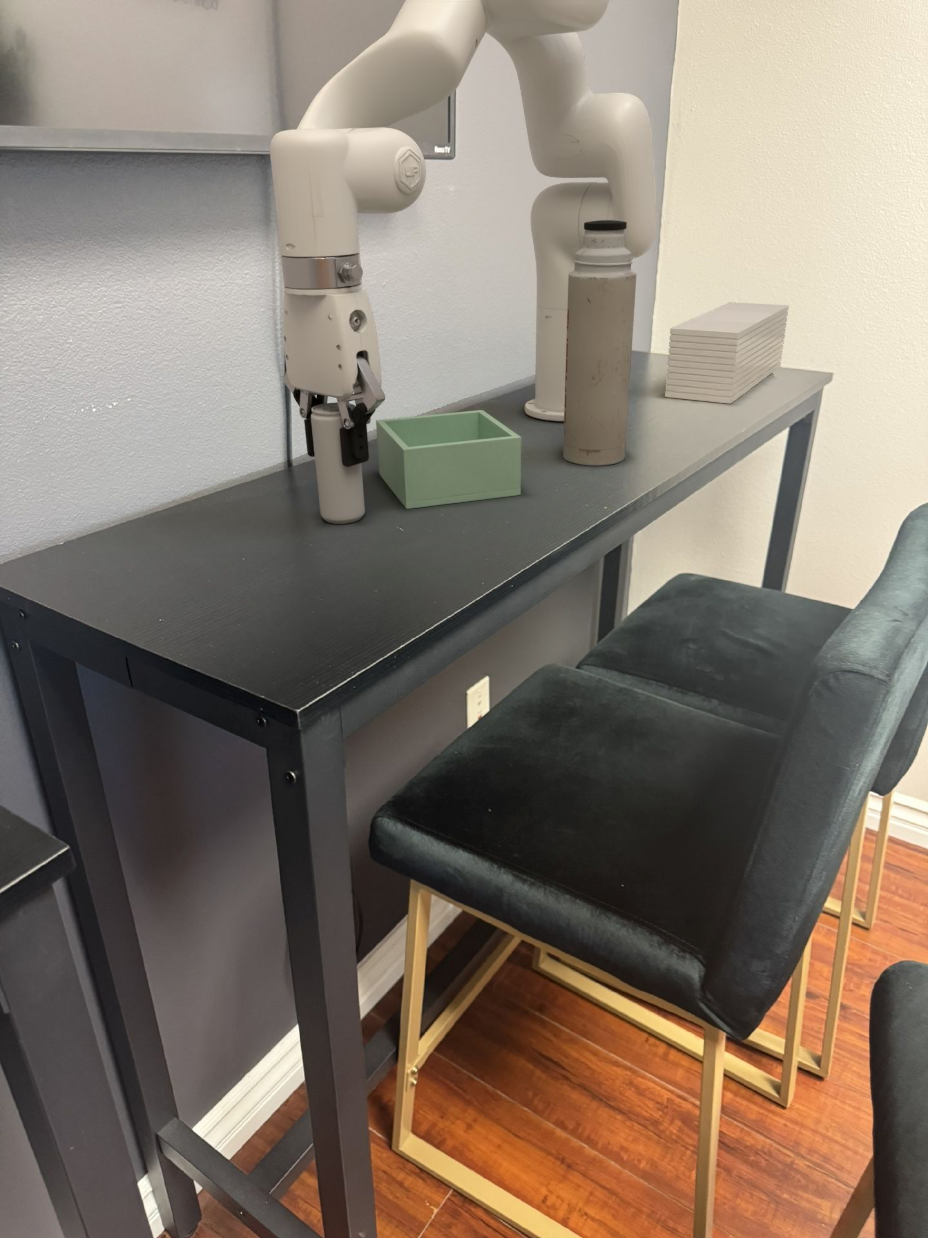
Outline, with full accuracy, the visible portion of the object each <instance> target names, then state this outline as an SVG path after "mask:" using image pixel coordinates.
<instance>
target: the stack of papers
mask: <svg viewBox="0 0 928 1238" xmlns="http://www.w3.org/2000/svg"><path fill="white" fill-rule="evenodd" d="M789 308H790V305H789V304H773V303H772V304H770V303H752V302H751V303H750V302H731V301H730V302H727V303H724V304H722V305H720V306H717V307H715V308H713V309H711V310H709V311H706V312H705V313H702V314H699V315H697V316H695V317H693V318H690V319H689V320H685V321H684V322H682V323H679V324H677V325H675V326H672V327H670V329H669V334H670V335H669V343H668V347H669V348H668V354H667V366H666V379H665V392H664V397H665V398H671V399H672V398H673V399H680V400H681V399H682V400H689V401H690V400H691V401H701V402H710V403H711V402H712V403H720V404H721V403H722V404H732V403H734V402H735V401H736V400H738V399H739V398H741V396H743V395H744V394H746V393H747V392H748V391H750V390H752V389H753V388H754V387H755V386H757V385H758V384H760V383H761V382H762V381H763V380H765V379H766V378H767V377H769V376H770V375H772V374H773V373H774V372H775V371H777V370H778V369H779V368H781V366H782V359H783V352H784V344H785V337H786V330H787V329H786V328H787V322H788V315H789V312H788V311H789Z"/></svg>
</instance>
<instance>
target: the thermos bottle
mask: <svg viewBox="0 0 928 1238" xmlns="http://www.w3.org/2000/svg"><path fill="white" fill-rule="evenodd" d="M626 227H627V222H623V221H615V220H599V221H591V222H585V223H584V229H585V234H584V235H583V247H582V248H581V249H580V250H579V251H577V252H576V253H575V260H574V263H575V269H574V271H572V272H570V273H569V275H568V306H567V339H566V372H565V405H564V421H563V437H562V438H563V440H562V441H563V444H562V458H563V459H564V460H565V461H567V462H568V463H569V462H570V463H573V464H576V465H581V466H595V467H596V466H598V467H599V466H600V467H601V466H610V465H615V464H618V463H621V462H623V461H624V460H625V458H626V449H627V434H628V433H627V432H628V418H629V416H628V415H629V391H630V381H631V379H630V378H631V369H632V368H631V367H632V354H633V353H632V352H633V337H634V336H633V335H634V323H635V322H634V320H635V319H634V318H635V304H636V303H635V302H636V287H637V272H636V271H634V270H632V264H633V259H634V258H632V253H631V252H630V251H629V250H628V249H626V248H625V234H624V229H626Z"/></svg>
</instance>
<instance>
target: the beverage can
mask: <svg viewBox="0 0 928 1238" xmlns="http://www.w3.org/2000/svg"><path fill="white" fill-rule="evenodd" d="M355 406H356V404H353V403H350V407H351V411H353V409H354V408H355ZM312 412H313V413H312V414H311V423H312V434H313V444H314V454H315V457H314V463H315V464H314V465H315V473H316V481H317V492H318V499H319V500H318V501H319V512H320V516H321V517H322V519H323V520H324V521H325V522H327V523H329V524H333V525H334V524H335V525H346V524H352V523H356V522H358V521H359V520H361V519H362V518H363V517H364V515H365V513H366V510H365V509H366V507H365V495H364V482H363V481H364V480H363V468H362V463H360V464H357V465H353V466H350V467H346V466H344V465H343V463H342V455H341V444H340V428H343V427H344V425H343V422H342V418H341V414H340V410H339V406H338V402H337V401H336V402H327V403H325V404H320V405H316V406H314V407H312Z"/></svg>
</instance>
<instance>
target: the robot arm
mask: <svg viewBox="0 0 928 1238" xmlns="http://www.w3.org/2000/svg"><path fill="white" fill-rule="evenodd" d="M609 3H610V0H404V2H403V4H402V6H401V8H400V9H399V12H398V13H397V15H396V17H395V19H394V21H393V22H392V25H391V26H390V28H389V29H388V31H387V32H386V33H385V34H384V35H382V37H380V38H379V39H377V40H376V41H374V42H373V43H372V44H370V45H369V46H368V47H367V48H366V49H364V50H363V51H362V52H361V53H360V54H359V55H357V56H356V57H354V59H353V60H351V61H350V62H349V63H348V64H347V65H345V66H344V67H343V68H342V69H340V71H338V72H337V73H335V74H334V75H333V76H332V77H331V78H330V79H329V80H328V81H327V82H326V83H325V84H324V85H323V86H322V87H321V88H320V90H319V91H318V92H317V93H316V95H315V96H314V98H313V99H312V101H311V102H310V104H309V106H308V108H307V109H306V111H305V112H304V114H303V116H302V118H301V120H300V122H299V124H298V126H297V128H295V129H286V130H281V131H279V132H276V133H275V134H274V135H273V137H272V138H271V140H270V143H269V153H270V154H269V157H270V159H269V160H270V166H271V176H272V185H273V186H272V187H273V194H274V204H275V215H276V221H277V222H276V223H277V232H278V242H279V252H280V253H279V254H280V262H281V263H280V264H281V272H282V282H283V302H282V303H283V305H282V330H283V332H282V333H283V347H284V348H283V349H284V350H283V351H284V360H285V366H286V367H285V368H286V371H285V374H284V375H283V383H284V385H285V386H286V387H287V388H288V390H289V391H290V393H291V394H292V396H293V399H294V401H295V402H296V403H297V405H298V406H299V409H298V413H299V416H300V417H301V418H302V419H303V422H304V433H305V443H306V453H307V456H308V457H312V458H315V454H314V444H313V434H312V423H311V414H312V413H313V412H312V407H314V406H316V405H320V404H325V403H328V402H329V401H328V399H329V398H334V399H336V402H338V406H339V410H340V414H341V418H342V422H343V425H344V427H343V428H340V444H341V455H342V463H343V465H344V466H346V467H350V466H353V465H357V464H360V463H361V464H363V463H367V462H368V461H369V459H370V452H369V438H368V437H369V436H368V425H369V424H371V421H372V416H373V415H374V414H375V412H376V411H377V409H378V408H380V406H381V405H382V404H383V402H385V400H386V395H385V392H384V390H383V389H382V367H381V357H380V356H381V355H380V348H379V347H380V346H379V340H378V339H379V338H378V333H377V327H376V326H377V325H376V321H375V316H374V312H373V308H372V303H371V299H370V295H369V293H368V290H366V289H363V280H362V279H363V278H362V277H363V275H364V271H363V268H362V263H361V253H360V251H361V249H360V247H361V246H360V233H359V232H360V231H359V219H358V214H365V215H366V214H368V215H369V214H371V215H372V214H373V215H374V214H375V215H381V214H382V215H383V214H385V215H386V214H394V213H399V212H403V210H406V209H408V208H409V207H410V206H411V205H413V204H414V203H415V202H416V201H417V200H418V198H419V197H420V196H421V194H422V192H423V189H424V187H425V183H426V177H427V167H426V166H427V165H426V162H425V158H424V157H425V156H424V155H423V151H422V150H421V148H420V146H419V145H418V144H417V142H416V141H415V140H414V139H413V138H412V137H411V136H410V135H408V134H407V133H405V132H403V131H401V130H399V129H396V128H393V127H392V128H391V127H390V126H391V125H394V124H397V123H398V122H400V121H402V120H405V119H407V118H410V117H412V116H415V115H418V114H419V113H422V112H424V111H426V110H428V109H430V108H432V107H434V106H436V105H437V104H439V103H441V102H443V101H444V100H446V99H447V98H449V97H450V96H452V95H453V94H454V92H455V91H456V90H457V89H458V88H459V86H460V84H461V83H462V80H463V78H464V76H465V73H466V72H467V70H468V67H469V66H470V63H472V60H473V57H474V55H475V54H476V52H477V50H478V48H479V46H480V44H481V42H482V40H483V38H484V37H485V34H487V35H489V36H490V37H492V38H493V39H494V40H495V41H496V42H498V43H499V44H500V45H501V47H502V48H503V49H504V50H505V51H506V53H507V54H508V56H509V57H510V59H511V61H512V63H513V66H514V69H515V70H516V75H517V78H518V84H519V89H520V90H519V91H520V95H521V101H522V102H521V103H522V107H523V115H524V121H525V127H526V133H527V140H528V145H529V151H530V155H531V159H532V163H533V165H534V167H535V169H536V170H537V171H538V173H540V174H542V175H543V176H546V177H550V178H558V179H586V178H587V179H588V178H589V179H590V178H591V179H592V178H602V179H603V178H604V179H606V181H607V182H599V181H598V182H597V181H579V182H578V181H574V182H573V181H572V182H561V183H557V184H552V185H550V186H548V187H546V188H544V189H542V191H541V192H540V193H539V194H538V195H536V197H535V199H534V201H533V203H532V206H531V210H530V211H531V212H530V231H531V238H532V243H533V251H534V257H535V269H536V270H535V272H536V310H535V311H536V313H535V314H536V315H535V316H536V319H535V374H534V375H535V378H534V380H535V381H534V382H535V383H534V398H533V399H530V400H528V401H526V403H525V404H524V413H525V414H526V415H527V416H528V417H532V418H534V419H539V420H543V421H550V422H564V405H565V372H566V339H567V306H568V275H569V273H570V272H572V271H574V269H575V263H574V260H575V253H576V252H577V251H579V250H580V249H581V248H582V247H583V235H584V234H585V229H584V223H585V222H591V221H599V220H615V221H623V222H627V227H626V229H624V234H625V248H626V249H628V250H629V251H630V252H631V253H632V258H633V259H636V258H639V257H641V256H643V255H645V254H646V253H648V251H649V250H650V249H651V247H652V246H653V243H654V241H655V238H656V233H657V225H658V204H657V203H658V201H657V200H658V199H657V186H656V171H655V156H654V143H653V131H652V123H651V118H650V115H649V112H648V110H647V108H646V106H645V104H644V103H643V100H641V99H640V98H639V97H637V96H636V95H634V94H632V93H629V92H603V93H602V92H601V93H595V92H594V91H592V89H591V88H590V83H589V78H588V70H587V65H586V57H585V50H584V47H583V44H582V41H581V38H580V37H579V35H578V33H579V32H585V31H588V30H590V29H592V28H593V27H595V26H596V25H597V24H598V23H599V22H600V21H601V20H602V19H603V17H604V15H605V13H606V12H607V9H608V6H609ZM353 401H354V405H355V408H354V409H353V411H351V407H350V404H351V403H350V402H353Z"/></svg>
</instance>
